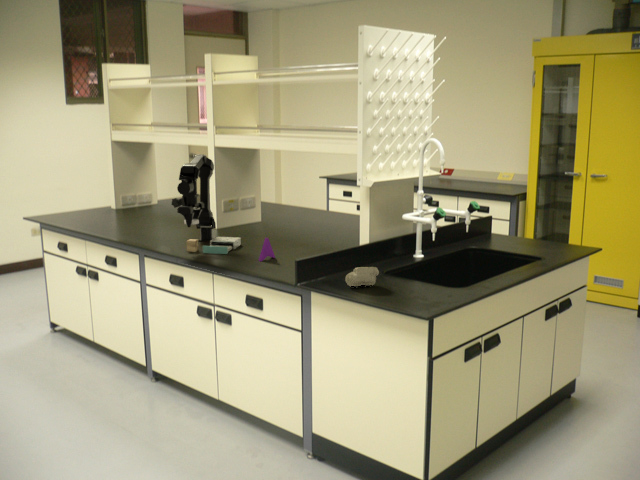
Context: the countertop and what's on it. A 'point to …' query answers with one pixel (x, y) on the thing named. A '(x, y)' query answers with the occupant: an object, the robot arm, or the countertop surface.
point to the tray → (217, 249)
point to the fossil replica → (362, 276)
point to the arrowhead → (266, 250)
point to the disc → (193, 221)
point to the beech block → (192, 245)
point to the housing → (226, 241)
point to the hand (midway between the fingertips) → (191, 225)
